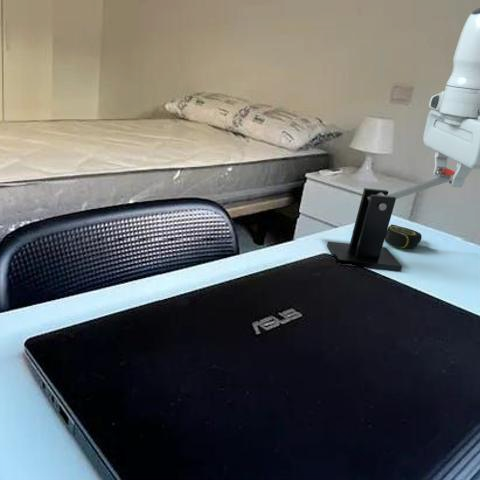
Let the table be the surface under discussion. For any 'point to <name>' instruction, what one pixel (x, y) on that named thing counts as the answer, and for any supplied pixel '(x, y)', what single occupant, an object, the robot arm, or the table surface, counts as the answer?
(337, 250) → the bracket
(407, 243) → the tape measure
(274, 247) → the table surface
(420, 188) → the lever
